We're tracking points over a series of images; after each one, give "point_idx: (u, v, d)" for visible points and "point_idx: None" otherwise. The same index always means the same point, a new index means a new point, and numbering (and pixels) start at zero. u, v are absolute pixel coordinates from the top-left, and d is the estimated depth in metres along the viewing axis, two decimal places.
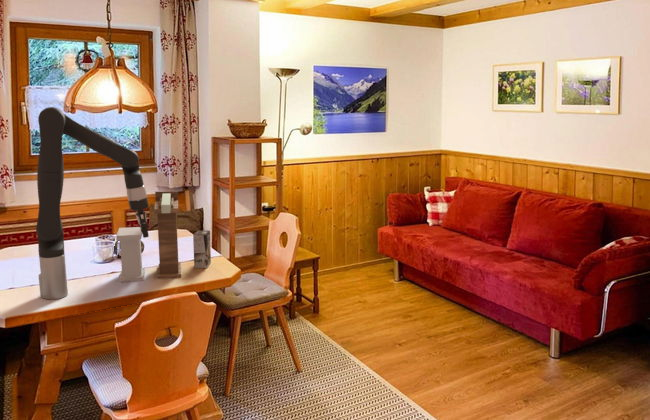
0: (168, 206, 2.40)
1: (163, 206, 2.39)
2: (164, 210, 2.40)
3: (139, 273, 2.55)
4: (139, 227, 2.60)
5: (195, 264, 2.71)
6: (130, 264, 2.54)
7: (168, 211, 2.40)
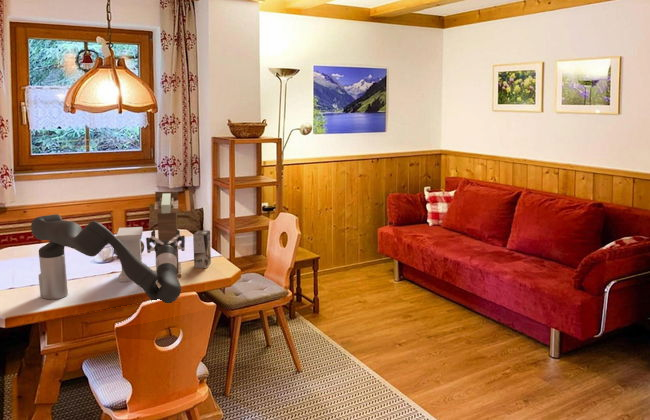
0: (168, 206, 2.40)
1: (163, 206, 2.39)
2: (164, 210, 2.40)
3: None
4: (139, 227, 2.60)
5: (195, 264, 2.71)
6: None
7: (168, 211, 2.40)
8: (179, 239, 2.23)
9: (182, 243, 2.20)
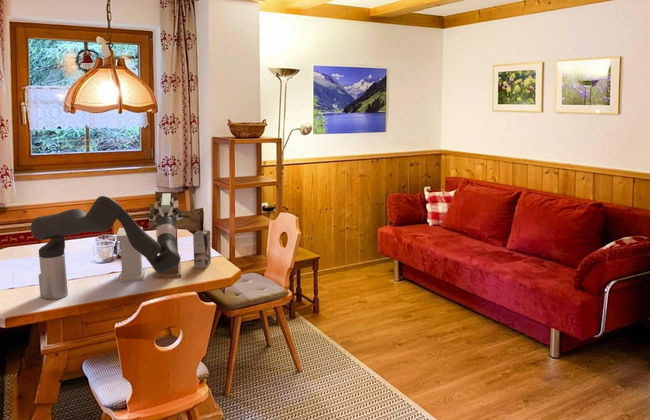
0: (168, 206, 2.40)
1: (163, 206, 2.39)
2: (164, 210, 2.40)
3: (139, 273, 2.55)
4: None
5: (195, 264, 2.71)
6: (130, 264, 2.54)
7: (168, 211, 2.40)
8: (173, 210, 2.41)
9: (179, 213, 2.39)
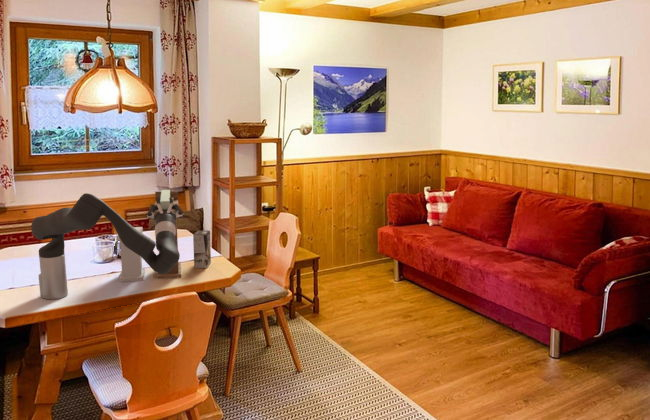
0: (167, 202, 2.27)
1: (162, 202, 2.27)
2: (163, 207, 2.27)
3: (139, 273, 2.55)
4: (139, 227, 2.60)
5: (195, 264, 2.71)
6: (130, 264, 2.54)
7: (167, 208, 2.27)
8: (172, 207, 2.29)
9: (179, 210, 2.26)
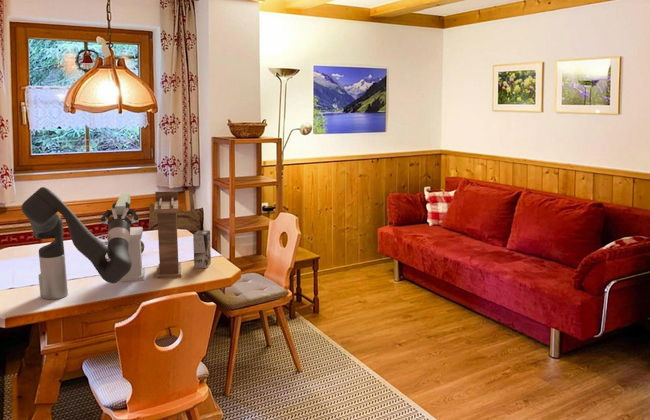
0: (123, 207, 2.16)
1: (117, 207, 2.16)
2: (118, 212, 2.16)
3: (139, 273, 2.55)
4: (139, 227, 2.60)
5: (195, 264, 2.71)
6: None
7: None
8: (128, 212, 2.18)
9: (135, 216, 2.16)
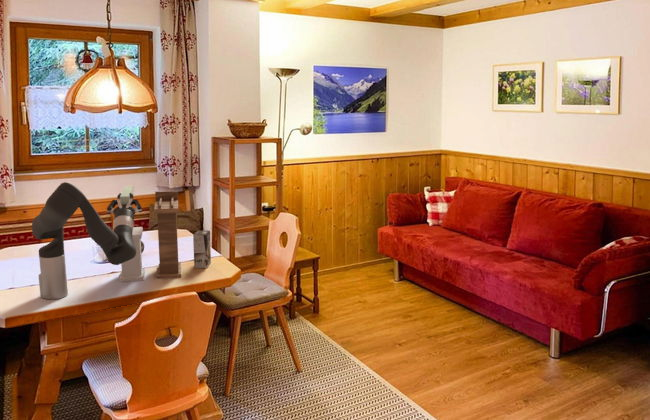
0: (127, 198, 2.35)
1: (122, 198, 2.34)
2: (123, 202, 2.35)
3: (139, 273, 2.55)
4: (139, 227, 2.60)
5: (195, 264, 2.71)
6: (130, 264, 2.54)
7: None
8: (132, 202, 2.37)
9: (138, 205, 2.34)
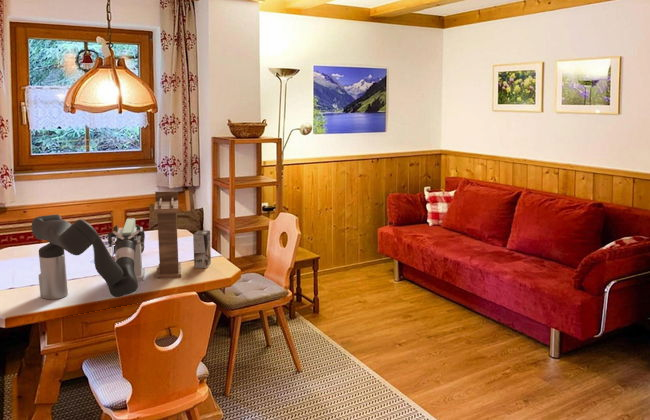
0: (129, 234, 2.38)
1: (124, 234, 2.37)
2: None
3: (139, 273, 2.55)
4: None
5: (195, 264, 2.71)
6: None
7: None
8: (139, 234, 2.39)
9: (141, 238, 2.36)
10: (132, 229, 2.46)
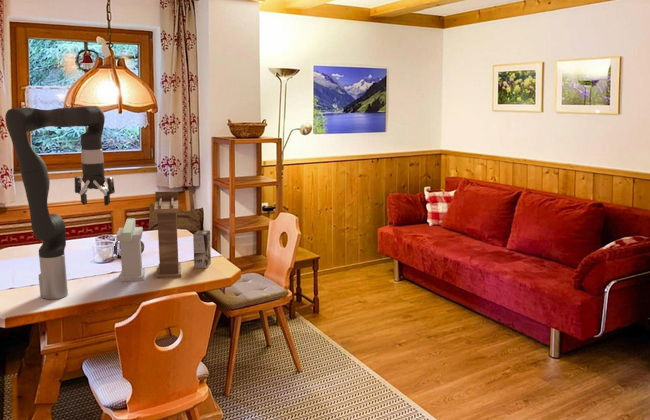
0: (129, 234, 2.38)
1: (124, 234, 2.37)
2: (125, 238, 2.38)
3: (139, 273, 2.55)
4: (139, 227, 2.60)
5: (195, 264, 2.71)
6: (130, 264, 2.54)
7: (129, 239, 2.38)
8: (108, 191, 2.14)
9: None
10: (132, 229, 2.46)
